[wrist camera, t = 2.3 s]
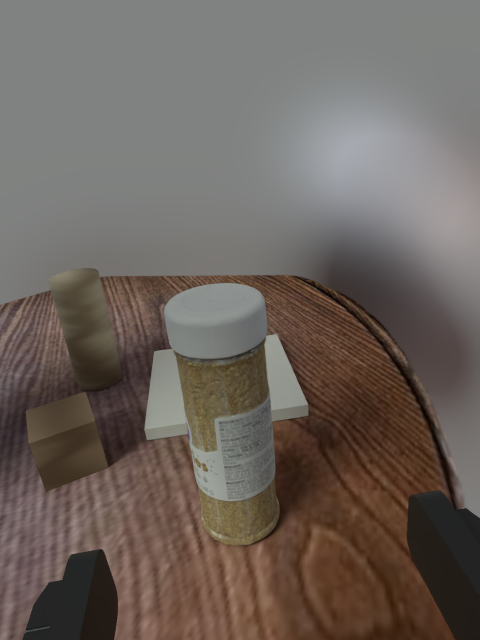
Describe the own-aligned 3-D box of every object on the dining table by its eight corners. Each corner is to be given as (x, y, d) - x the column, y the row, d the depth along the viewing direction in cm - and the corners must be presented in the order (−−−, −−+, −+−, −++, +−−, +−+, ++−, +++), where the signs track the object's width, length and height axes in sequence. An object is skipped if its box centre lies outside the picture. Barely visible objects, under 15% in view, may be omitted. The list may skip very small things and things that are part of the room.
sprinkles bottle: (193, 500, 27) (154, 292, 21) (263, 476, 28) (243, 273, 22) (215, 564, 23) (173, 328, 17) (295, 533, 24) (281, 303, 18)
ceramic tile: (146, 440, 32) (144, 429, 32) (156, 360, 43) (154, 351, 43) (308, 415, 33) (308, 404, 33) (277, 343, 44) (276, 334, 43)
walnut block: (46, 492, 29) (28, 443, 27) (42, 455, 32) (25, 410, 30) (108, 468, 30) (95, 420, 28) (98, 435, 33) (85, 391, 32)
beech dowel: (73, 393, 39) (42, 287, 35) (83, 370, 43) (55, 271, 38) (119, 387, 39) (93, 280, 35) (125, 364, 43) (101, 266, 39)
